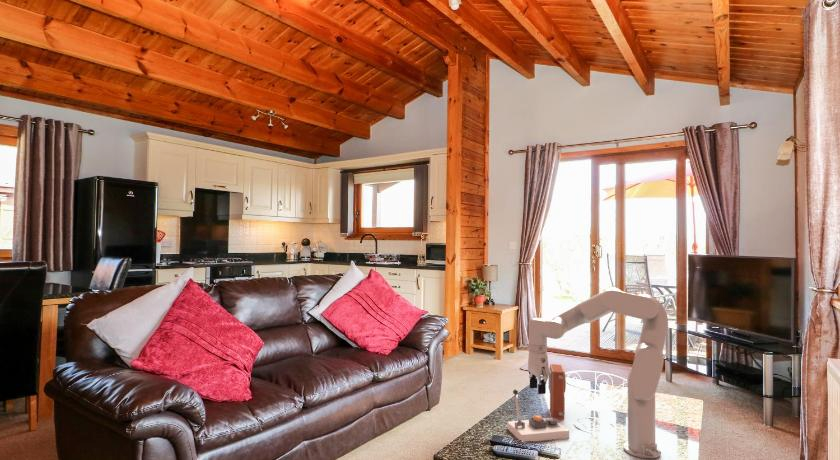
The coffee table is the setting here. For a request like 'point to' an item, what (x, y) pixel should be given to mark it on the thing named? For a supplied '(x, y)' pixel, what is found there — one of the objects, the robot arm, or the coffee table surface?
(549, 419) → the rocker switch
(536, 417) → the push button
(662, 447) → the coffee table surface
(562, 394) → the control panel
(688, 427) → the coffee table surface
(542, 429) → the switch board
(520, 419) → the toggle lever
